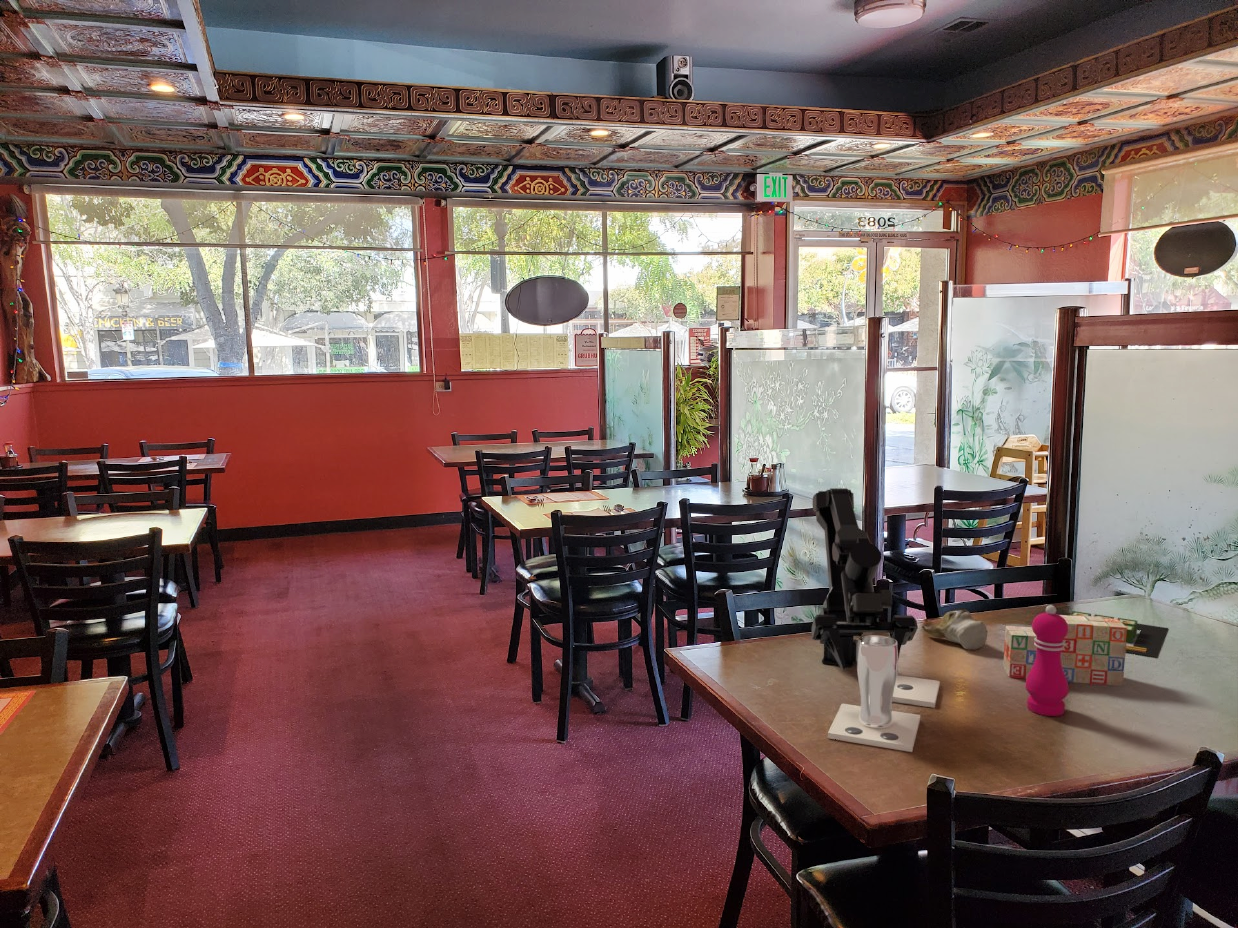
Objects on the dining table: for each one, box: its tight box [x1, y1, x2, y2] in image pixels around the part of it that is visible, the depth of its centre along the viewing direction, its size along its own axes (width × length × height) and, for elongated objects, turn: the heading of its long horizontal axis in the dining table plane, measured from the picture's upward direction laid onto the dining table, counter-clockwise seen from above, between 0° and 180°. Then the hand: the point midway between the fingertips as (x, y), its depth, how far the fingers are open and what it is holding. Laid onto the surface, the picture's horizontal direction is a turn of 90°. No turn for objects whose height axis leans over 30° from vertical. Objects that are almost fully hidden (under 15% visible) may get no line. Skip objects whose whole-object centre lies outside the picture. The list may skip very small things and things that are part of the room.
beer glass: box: [856, 634, 899, 729], centre depth 158 cm, size 7×7×15 cm
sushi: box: [1055, 610, 1169, 659], centre depth 210 cm, size 25×25×4 cm
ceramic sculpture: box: [921, 607, 988, 651], centre depth 203 cm, size 11×9×15 cm
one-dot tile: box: [892, 674, 941, 709], centre depth 175 cm, size 12×12×1 cm
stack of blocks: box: [1003, 615, 1127, 687], centre depth 182 cm, size 21×6×12 cm, turn 77°
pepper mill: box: [1024, 604, 1069, 717], centre depth 164 cm, size 7×7×20 cm
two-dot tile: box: [827, 703, 921, 753], centre depth 158 cm, size 14×14×1 cm
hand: (869, 670), depth 163 cm, fingers open, 9 cm apart
